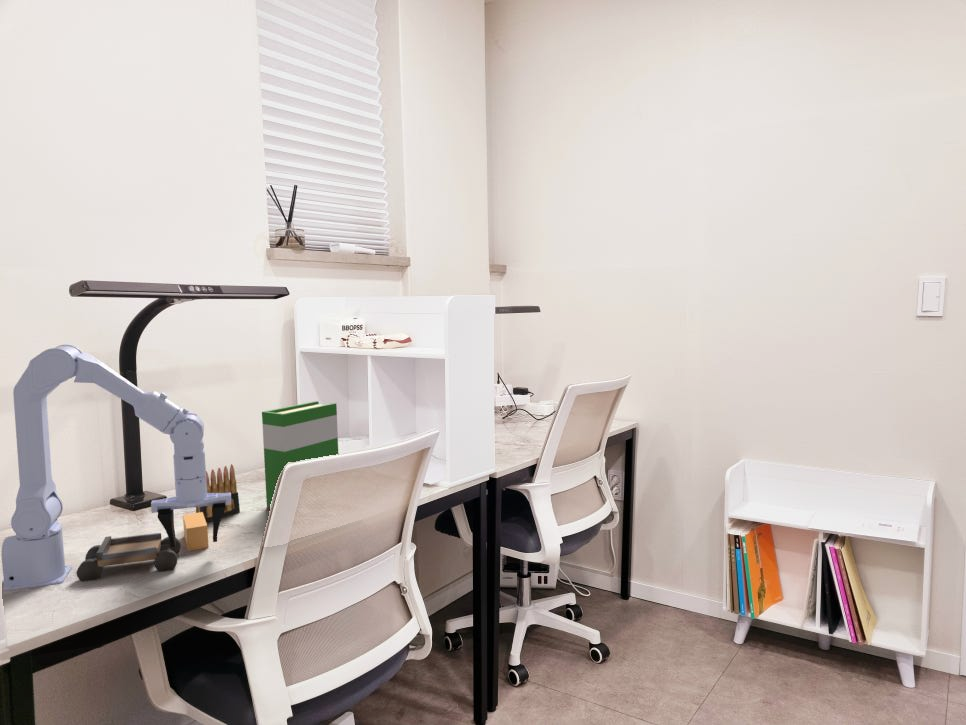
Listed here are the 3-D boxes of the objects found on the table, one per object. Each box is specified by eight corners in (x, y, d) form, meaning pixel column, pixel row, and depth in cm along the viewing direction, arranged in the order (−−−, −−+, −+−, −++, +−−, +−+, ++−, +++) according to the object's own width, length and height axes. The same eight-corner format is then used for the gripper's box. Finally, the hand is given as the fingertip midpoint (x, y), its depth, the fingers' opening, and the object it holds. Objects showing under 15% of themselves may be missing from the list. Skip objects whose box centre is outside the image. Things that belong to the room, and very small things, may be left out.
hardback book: (319, 489, 187) (315, 401, 184) (340, 493, 183) (336, 403, 180) (266, 508, 172) (261, 411, 170) (287, 512, 168) (282, 414, 166)
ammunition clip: (235, 511, 170) (232, 462, 169) (240, 512, 169) (237, 463, 168) (196, 524, 162) (192, 473, 160) (201, 525, 161) (197, 474, 159)
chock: (188, 552, 145) (186, 528, 144) (184, 537, 154) (182, 514, 153) (208, 548, 147) (207, 525, 146) (203, 533, 155) (202, 511, 155)
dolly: (77, 584, 129) (75, 555, 129) (87, 566, 138) (85, 539, 137) (177, 570, 135) (175, 543, 134) (181, 554, 143) (179, 528, 143)
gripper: (147, 485, 132) (152, 554, 133) (229, 477, 137) (232, 544, 138) (151, 475, 139) (156, 542, 140) (229, 468, 143) (233, 533, 145)
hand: (194, 542), depth 139 cm, fingers open, 7 cm apart
